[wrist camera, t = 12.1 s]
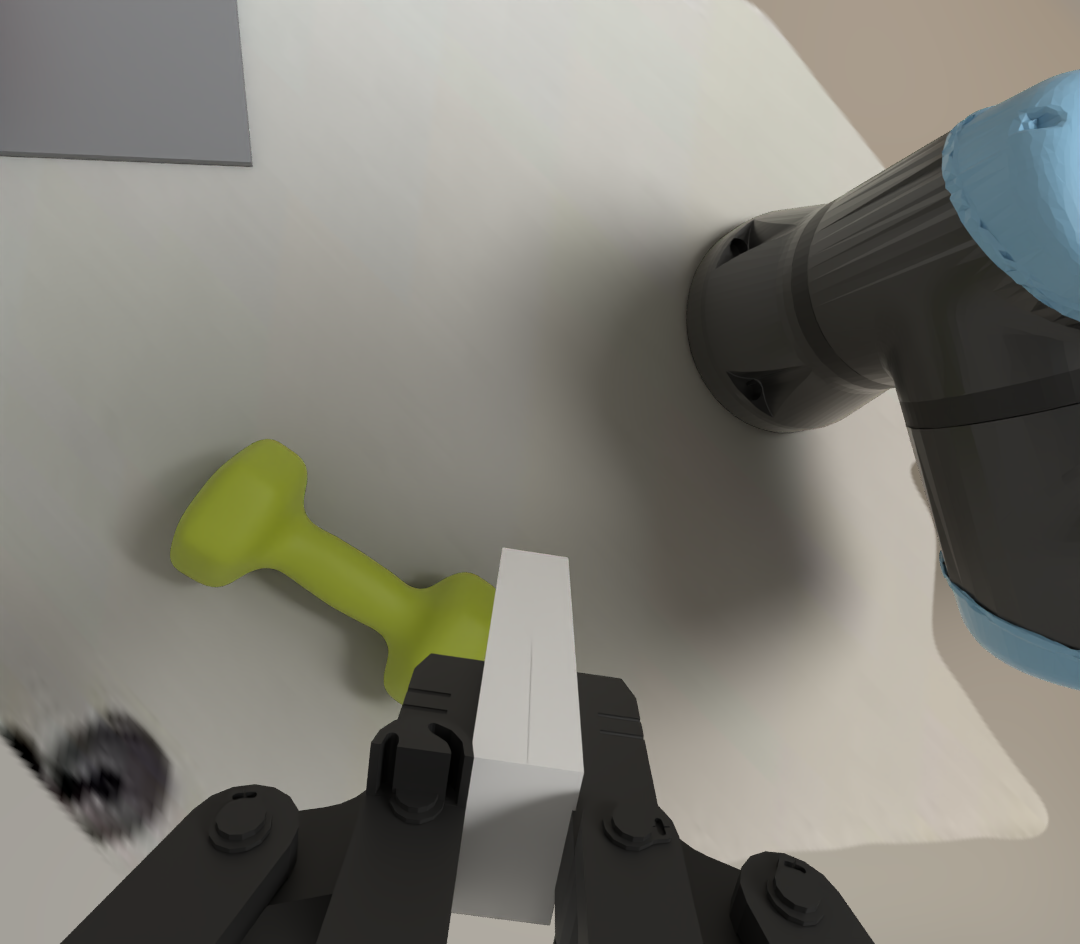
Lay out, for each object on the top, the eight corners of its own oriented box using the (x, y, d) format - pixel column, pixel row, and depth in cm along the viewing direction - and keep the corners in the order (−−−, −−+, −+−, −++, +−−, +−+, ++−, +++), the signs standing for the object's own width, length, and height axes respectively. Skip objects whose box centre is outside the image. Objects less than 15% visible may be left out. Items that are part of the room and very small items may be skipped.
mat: (225, -116, 37) (223, -124, 37) (252, 166, 37) (251, 162, 37) (-237, -190, 31) (-246, -200, 31) (-206, 146, 31) (-215, 141, 31)
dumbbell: (170, 548, 36) (131, 561, 29) (264, 430, 37) (249, 415, 30) (421, 704, 39) (440, 749, 32) (497, 590, 41) (531, 610, 34)
